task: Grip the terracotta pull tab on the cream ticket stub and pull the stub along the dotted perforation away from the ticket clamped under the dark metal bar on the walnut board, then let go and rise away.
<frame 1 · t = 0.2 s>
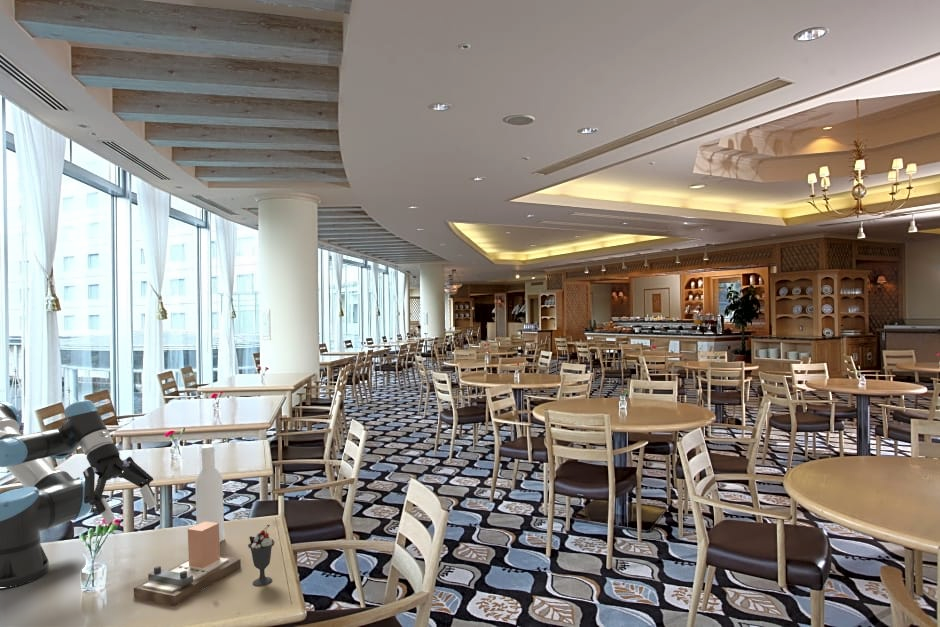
hand: (133, 513, 162), 16 cm above the table, tool tilted 35°, fingers open, 13 cm apart
bottle: (211, 542, 181), on the table
stub: (204, 545, 159), point 8 cm above the table, slide at 0.0 cm
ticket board: (190, 581, 154), on the table
sundae: (262, 582, 153), on the table
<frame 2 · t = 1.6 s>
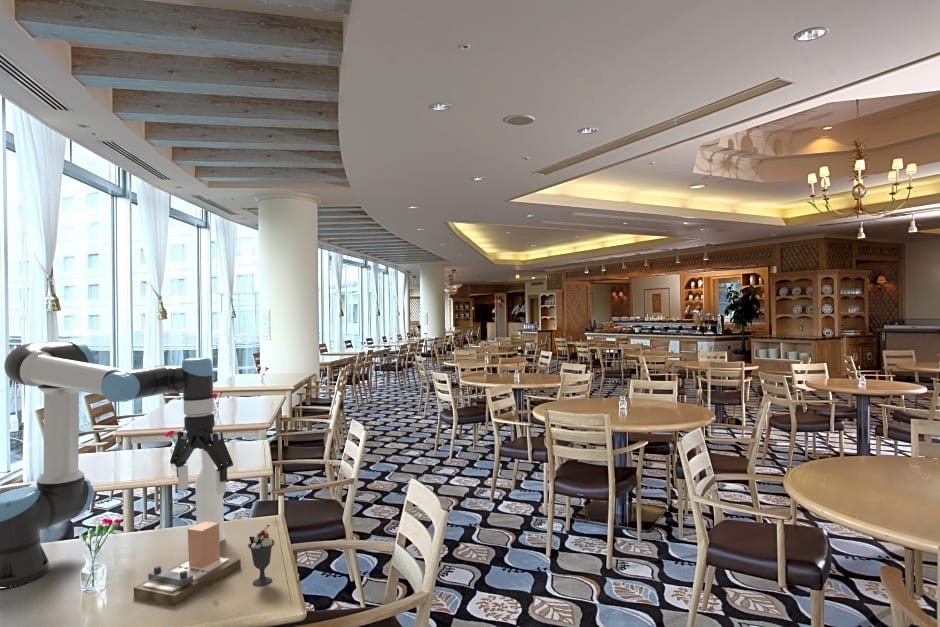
hand: (202, 491, 159), 23 cm above the table, tool pointing down, fingers open, 13 cm apart
nothing on the table moved.
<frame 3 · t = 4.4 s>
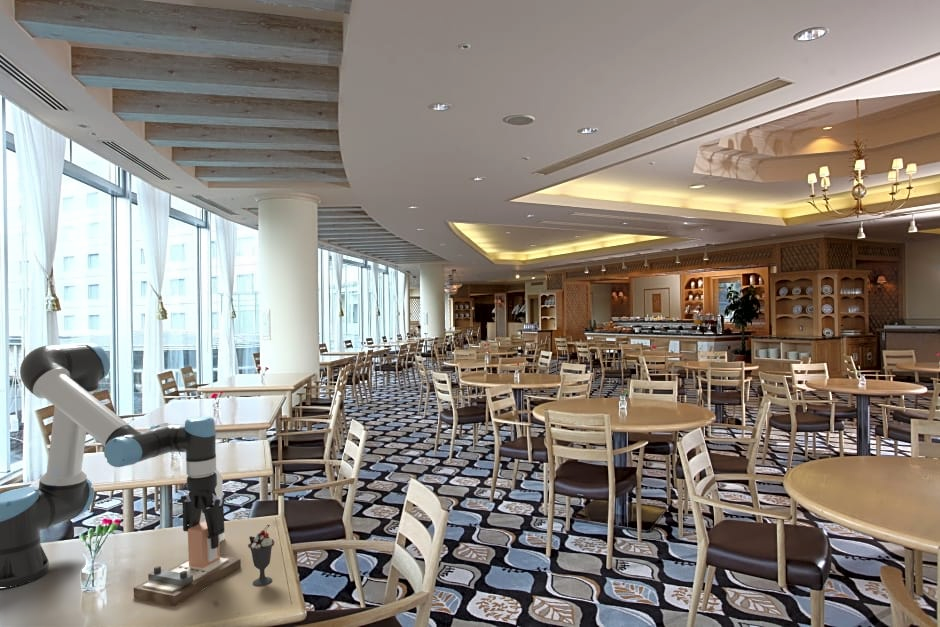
hand: (204, 558, 159), 4 cm above the table, tool pointing down, fingers closed on stub, 5 cm apart
stub: (204, 545, 159), point 8 cm above the table, slide at 0.0 cm, touching gripper
everything else where it was.
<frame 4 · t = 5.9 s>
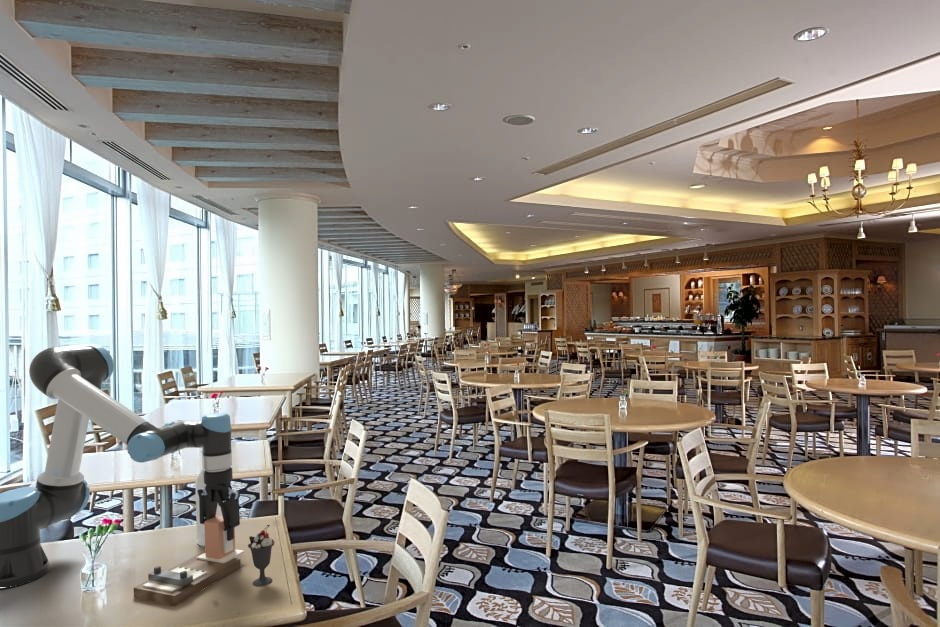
hand: (220, 549, 164), 4 cm above the table, tool pointing down, fingers closed on stub, 5 cm apart
stub: (220, 537, 164), point 8 cm above the table, slide at 5.8 cm, touching gripper
everything else where it was.
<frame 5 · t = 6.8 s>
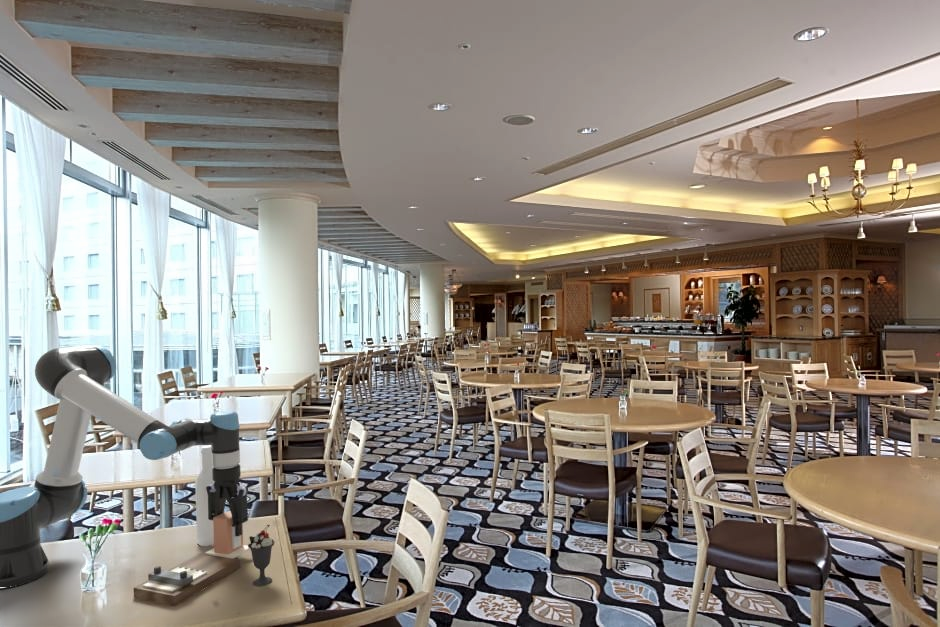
hand: (228, 545, 167), 4 cm above the table, tool pointing down, fingers closed on stub, 5 cm apart
stub: (228, 533, 167), point 8 cm above the table, slide at 8.9 cm, touching gripper
everything else where it was.
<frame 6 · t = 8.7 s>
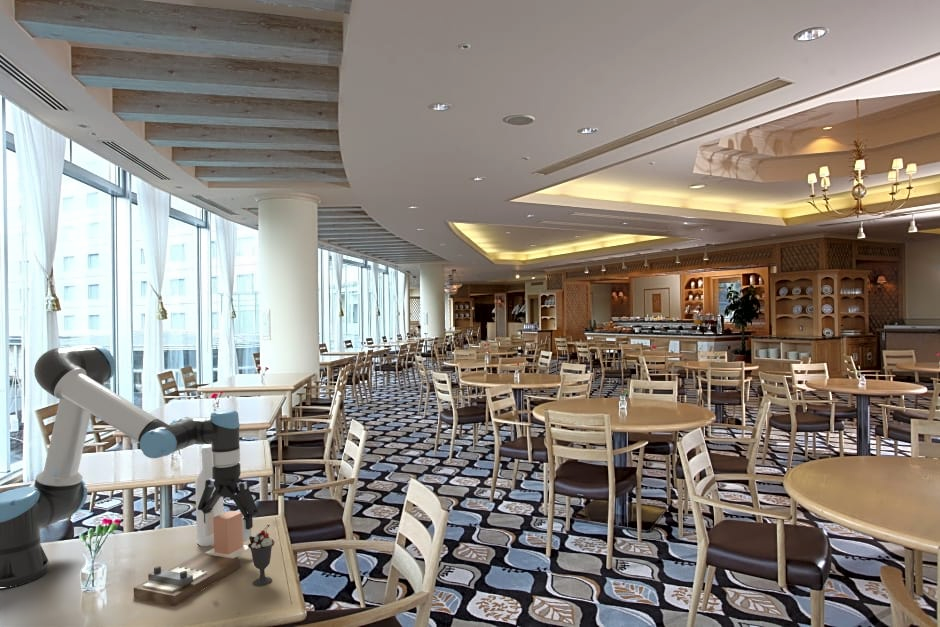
hand: (228, 537, 167), 7 cm above the table, tool pointing down, fingers open, 13 cm apart
stub: (228, 532, 167), point 8 cm above the table, slide at 9.0 cm
everything else where it was.
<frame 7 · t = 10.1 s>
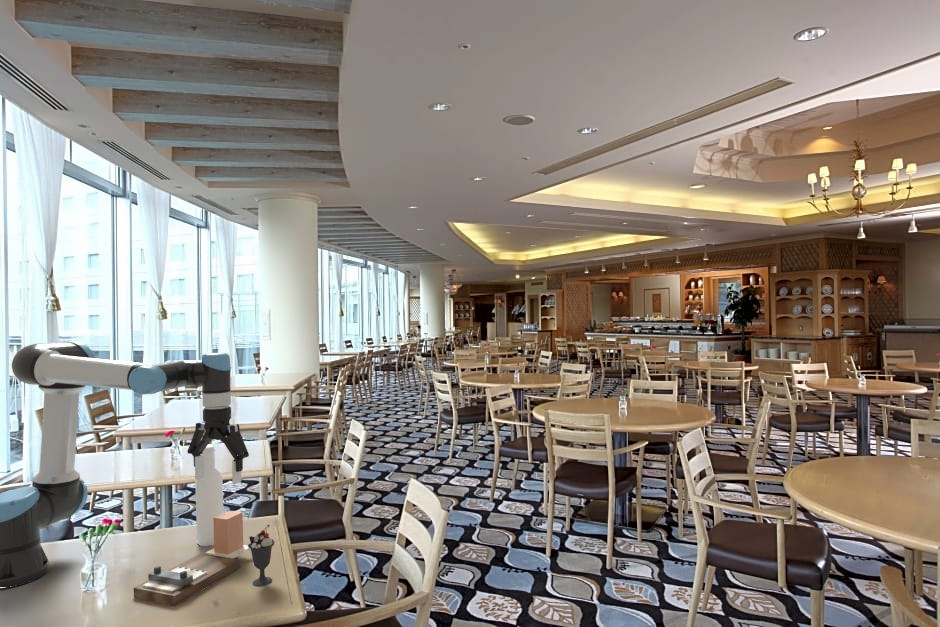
hand: (218, 480, 166), 23 cm above the table, tool pointing down, fingers open, 13 cm apart
nothing on the table moved.
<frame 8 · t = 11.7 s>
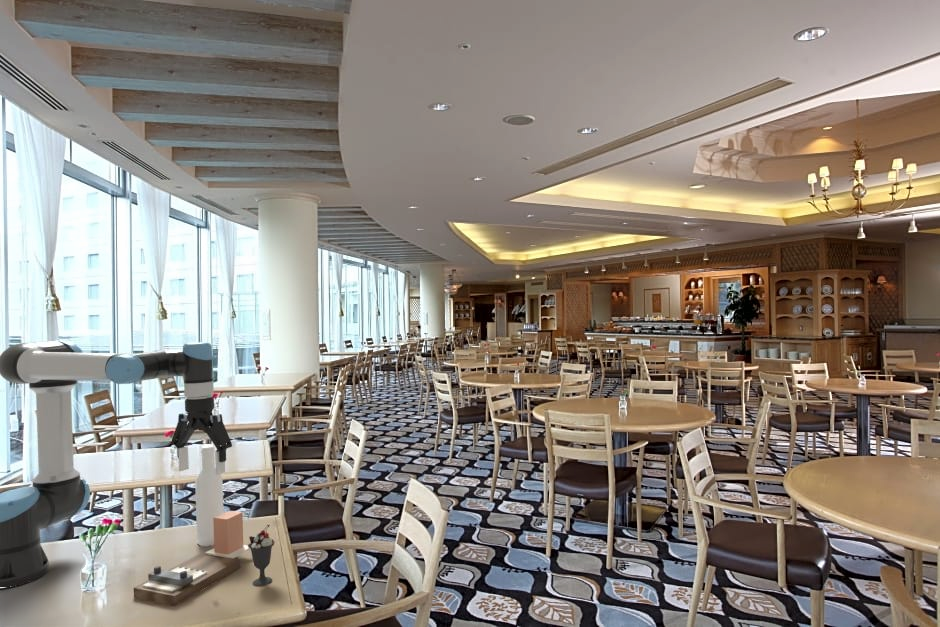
hand: (201, 471, 164), 27 cm above the table, tool pointing down, fingers open, 13 cm apart
nothing on the table moved.
at the end: stub slide at 9.0 cm; the gripper is holding nothing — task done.
